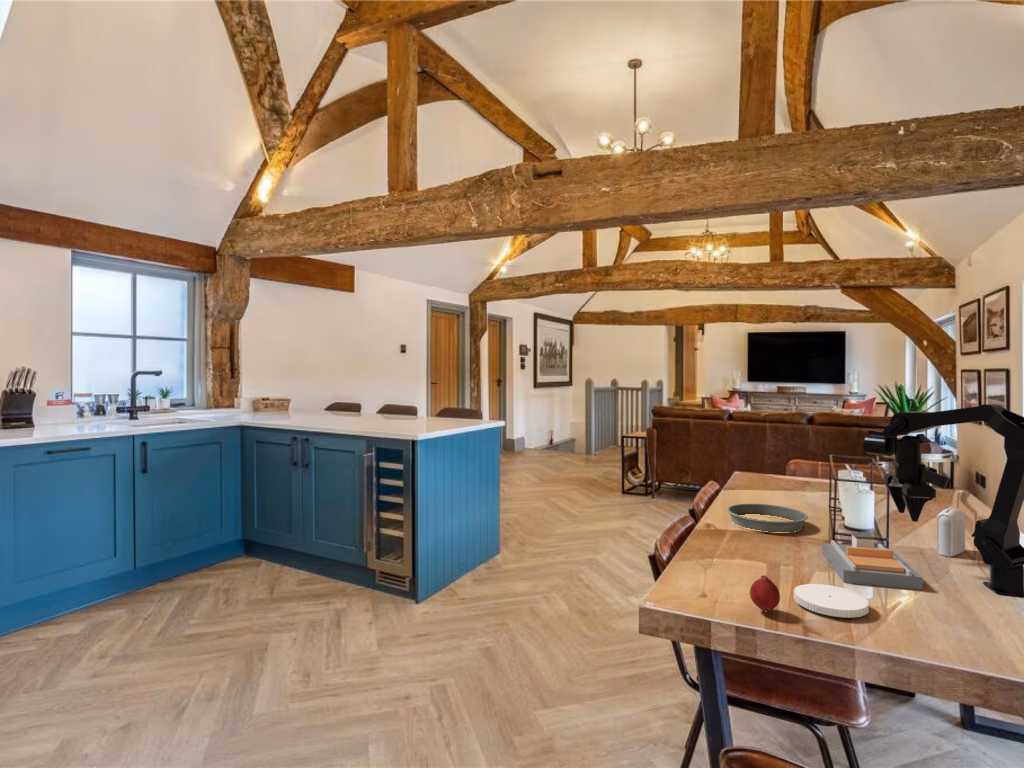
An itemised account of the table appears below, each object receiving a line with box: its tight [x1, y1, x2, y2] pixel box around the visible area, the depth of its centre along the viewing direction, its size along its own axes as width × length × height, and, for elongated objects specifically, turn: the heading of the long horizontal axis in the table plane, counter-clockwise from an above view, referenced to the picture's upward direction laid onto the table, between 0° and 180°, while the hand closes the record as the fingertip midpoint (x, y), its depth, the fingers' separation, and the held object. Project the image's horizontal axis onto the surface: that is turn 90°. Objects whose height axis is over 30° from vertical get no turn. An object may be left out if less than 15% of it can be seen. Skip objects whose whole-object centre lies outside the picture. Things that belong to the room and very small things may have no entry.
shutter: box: [846, 546, 904, 573], centre depth 133 cm, size 8×10×3 cm
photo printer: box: [936, 507, 966, 558], centre depth 150 cm, size 10×4×12 cm, turn 123°
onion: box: [749, 574, 781, 612], centre depth 114 cm, size 6×6×8 cm
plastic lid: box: [793, 583, 870, 619], centre depth 116 cm, size 14×14×2 cm
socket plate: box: [822, 539, 923, 591], centre depth 137 cm, size 22×16×4 cm
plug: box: [851, 531, 875, 548], centre depth 141 cm, size 4×4×8 cm
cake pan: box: [726, 503, 809, 533], centre depth 180 cm, size 25×25×4 cm
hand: (908, 517), depth 143 cm, fingers open, 9 cm apart
